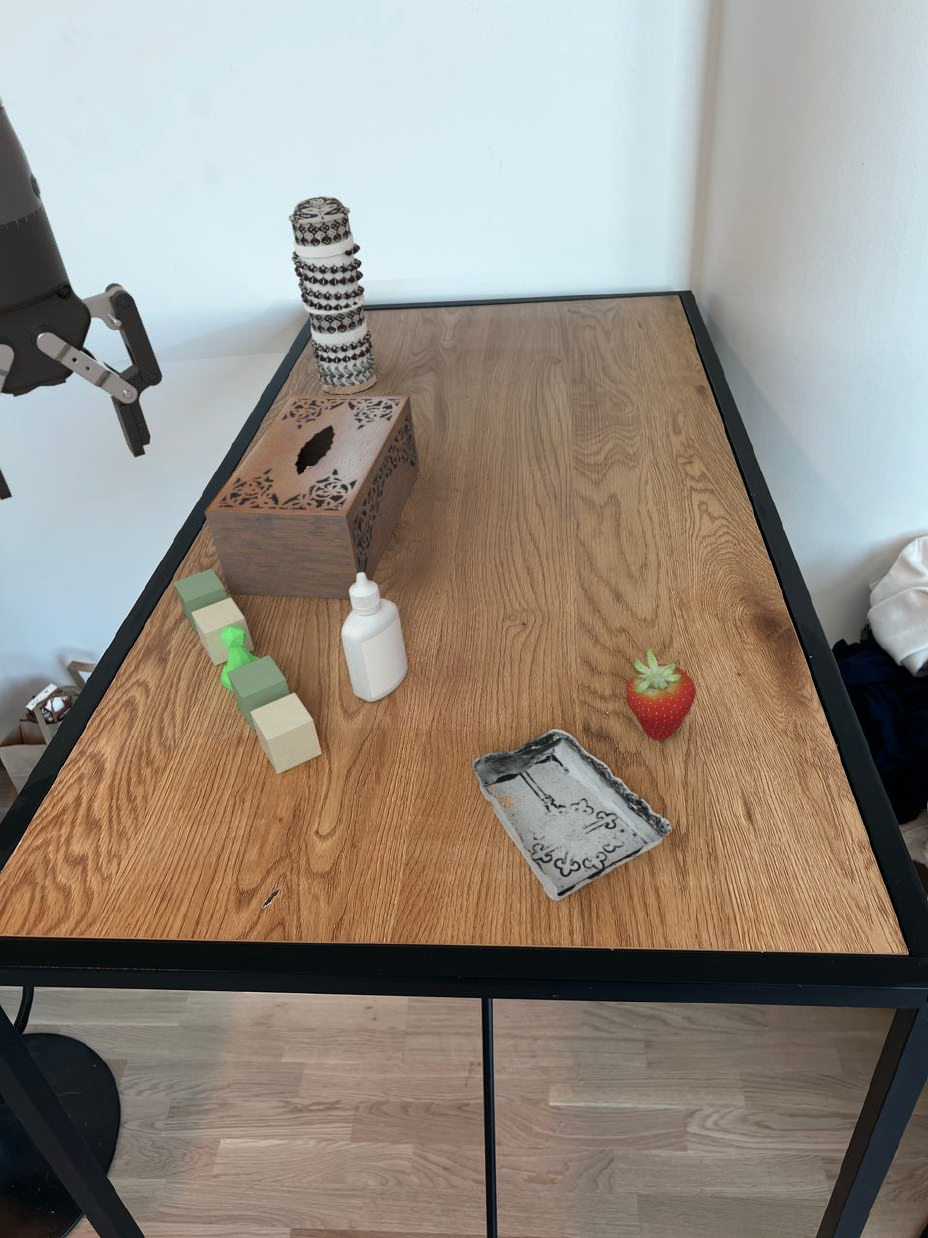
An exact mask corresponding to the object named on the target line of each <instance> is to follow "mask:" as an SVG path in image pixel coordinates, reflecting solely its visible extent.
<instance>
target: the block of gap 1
mask: <svg viewBox="0 0 928 1238" xmlns="http://www.w3.org/2000/svg"><path fill="white" fill-rule="evenodd" d="M192 616H193V619H194V622H195V625H196V628H197V631H198V633H197V634H198V636H199V639H200V643H201V645H202V647H203V648H204V650H205V652H206V654H207V655H208V657H209V659H210V660H211V662H212V664H213V665H214V666H219V665H222V664H223V663H227V661H228V654H229V649H228V648H227V647H226V645H225V644H224V643H223V642H222V640H221V638H220V637H221V634H222V631H223V628H226V627H230V626H234V625H239V626H240V627H241V628H242V630H243V631H244V632H245V634H246V637H245V640H244V643H243V646H244V647H245V648H246V649H247V650H248V651H249V652H250V653H251V652H252V651H253V652H254V650H255V648H254V644H253V640H252V637H251V634H250V630H249V626H248V623H247V621H246V617H245V615H244V614H243V612H242V611H241V609H240V607H238V605H237V603H236V602H235V600H234V599H233V598H232V597H230V596H229V597H228V598H227V599H225V600H222V601H220V602H217V603H214V604H212V605H209V606H207V607H204V608H201V609H199V610H196V611H193V612H192Z"/></svg>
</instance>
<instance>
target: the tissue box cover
mask: <svg viewBox="0 0 928 1238" xmlns="http://www.w3.org/2000/svg"><path fill="white" fill-rule="evenodd" d="M307 466H312V467H310V468H309V469H308V470H307V471H305V472H304V470H305V469H306V467H307ZM418 472H419V473H420V465H419V457H418V449H417V442H416V435H415V428H414V419H413V413H412V406H411V398H410V395H371V394H369V395H355V394H350V395H331V394H327V395H326V394H325V395H323V394H321V395H318V394H317V395H315V394H314V395H311V394H310V395H309V394H306V395H302V394H300V395H299V394H297V395H296V394H295V395H294V394H292V395H290V396H289V398H288V399H287V400H286V401H285V403H284V405H283V406H282V407H281V408H280V410H279V411H278V413H277V414H276V415H275V416H274V417H273V419H272V421H271V422H270V423H269V425H268V426H267V428H265V430H264V431H263V432H262V434H261V435H260V436H259V438H258V439H257V441H256V442H255V444H254V445H253V446H252V448H251V449H250V450H249V451H248V453H247V454H246V456H245V457H244V458H243V460H242V461H241V462H240V464H239V465H238V466H237V468H236V469H235V470H234V471H233V473H232V474H231V476H230V477H229V478H228V479H227V481H226V482H225V484H224V485H223V486H222V487H221V489H220V490H219V492H218V493H217V494H216V495H215V496H214V498H213V500H212V501H211V502H210V503H209V505H208V506H207V507H206V509H205V510H204V515H205V519H206V521H207V525H208V527H209V528H208V529H209V532H210V534H211V538H212V541H213V545H214V548H215V551H216V554H217V557H218V561H219V564H220V567H221V571H222V575H223V578H224V581H225V584H226V587H227V590H228V594H229V595H230V594H231V595H250V596H272V597H273V596H274V597H291V598H292V597H293V598H294V597H295V598H313V599H314V598H315V599H316V598H317V599H336V600H351V598H350V593H349V589H350V587H351V586H352V585H353V584H354V583H356V579H357V574H358V573H360V572H363V573H365V575H366V577H367V580H370V581H372V580H373V579H372V578H373V577H374V574H375V572H376V570H377V567H378V565H379V563H380V561H381V559H382V557H383V554H384V552H385V550H386V548H387V545H388V543H389V541H390V539H391V536H392V534H393V532H394V530H395V527H396V525H397V523H398V521H399V518H400V517H401V514H402V512H403V509H404V508H405V505H406V503H407V500H408V498H409V496H410V494H411V492H412V490H413V487H414V485H415V483H416V481H415V479H416V480H417V478H416V476H417V473H418ZM417 477H418V476H417Z"/></svg>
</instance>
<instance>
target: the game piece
mask: <svg viewBox="0 0 928 1238" xmlns="http://www.w3.org/2000/svg"><path fill="white" fill-rule="evenodd" d="M245 637H246V634H245V632H244V631H243V630H242V628H241V627H240V626H239V625H234V626H230V627H226V628H223V631H222V634H221V637H220V638H221V640H222V642H223V643H224V644H225V645H226V647H227V648H228V649H229V654H228V661H226V665H225V666H224V667H223V669H222V672H221V676H220V680H221V684H222V686H223V687H225V688H226V689H228V690H229V691H231V692H232V693H233V690H232V687H231V684H230V681H229V678H228V675H227V672H229V671H231V670H234V669H236V668H238V667H241V666H243V665H246V664H248V663H251V662H253V661H255V660H258V659H260V657H258V656H256V655H253V654H252V653H251V651H250V652H249V651H248V650H247V649H246V648H245V647H244V646H243V643H244V640H245Z"/></svg>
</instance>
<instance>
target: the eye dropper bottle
mask: <svg viewBox="0 0 928 1238" xmlns="http://www.w3.org/2000/svg"><path fill="white" fill-rule="evenodd" d="M349 593H350V598H351V599H350V602H351V603H350V604H351V608H352V610H351V611H350V613H348V615H347V617H346V618H345V620H344V622H343V625H342V627H341V632H340V633H341V641H342V646H343V651H344V652H343V653H344V655H345V660H346V666H347V670H348V674H349V681H350V684H351V688H352V692H353V694H354V695H355V697H357V698H359V699H362V700H363V701H366V702H368V703H375V702H377V701H379V700H381V699H383V698H384V697H386V696H388V695H390V694H391V693H392V692H394V691H395V690H396V689H397V688H398V687H399V686H400V685H401V683H402V682H403V681H404V679H405V677H406V676H407V673H408V670H409V664H408V659H407V658H408V657H407V651H406V646H405V641H404V635H403V629H402V624H401V619H400V614H399V608H398V606H397V604H396V603H394V602H393V601H391V600H388V599H386V598H383V597H382V598H381V596H380V590H379V585H378V584H377V583H376V582H375V581H373V580H371V581H370V580H367V577H366V575H365V573H363V572H360V573H358V574H357V579H356V583H354V584H353V585H352V586H351V587H350V589H349Z"/></svg>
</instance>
